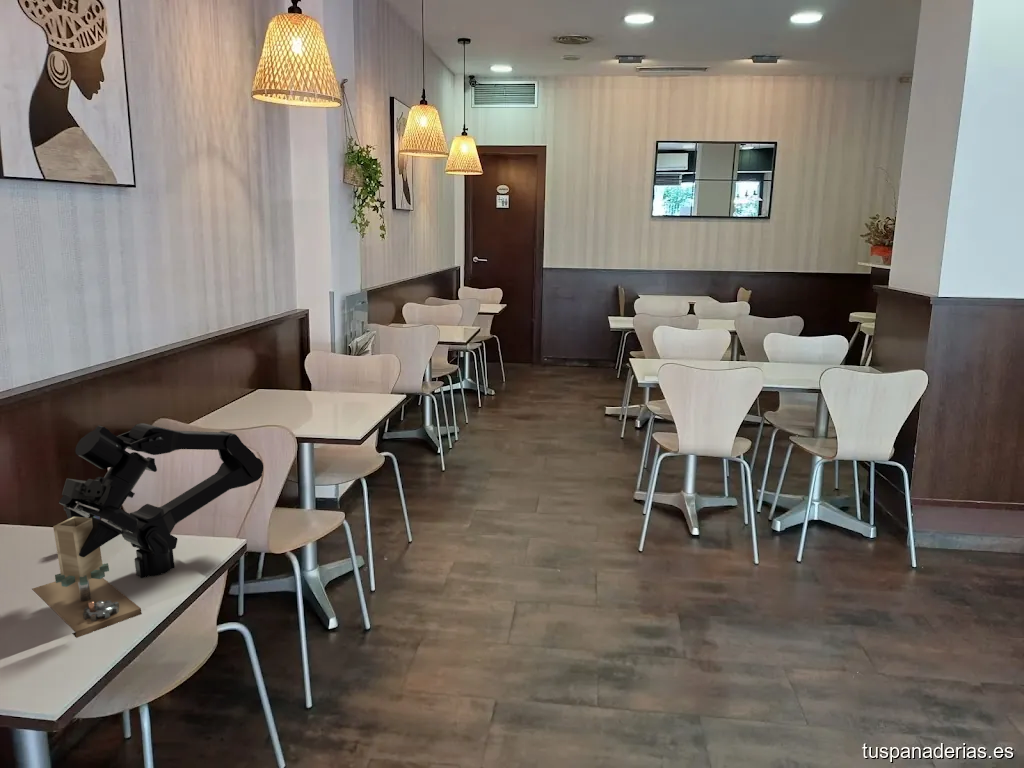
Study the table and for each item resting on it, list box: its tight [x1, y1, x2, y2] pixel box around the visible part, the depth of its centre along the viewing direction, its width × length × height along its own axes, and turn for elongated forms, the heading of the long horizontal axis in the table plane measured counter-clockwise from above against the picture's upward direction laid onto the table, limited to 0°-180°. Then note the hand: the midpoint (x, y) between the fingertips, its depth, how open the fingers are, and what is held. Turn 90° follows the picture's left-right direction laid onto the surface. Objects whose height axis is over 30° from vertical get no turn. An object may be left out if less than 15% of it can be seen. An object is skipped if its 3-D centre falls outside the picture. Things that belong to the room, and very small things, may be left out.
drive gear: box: [83, 600, 119, 621], centre depth 141 cm, size 6×6×3 cm
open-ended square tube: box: [52, 517, 110, 587], centre depth 145 cm, size 9×9×11 cm
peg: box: [78, 580, 91, 601], centre depth 147 cm, size 2×2×5 cm
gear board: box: [32, 577, 142, 639], centre depth 148 cm, size 11×25×1 cm, turn 47°
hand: (71, 552), depth 144 cm, fingers closed on open-ended square tube, 6 cm apart
